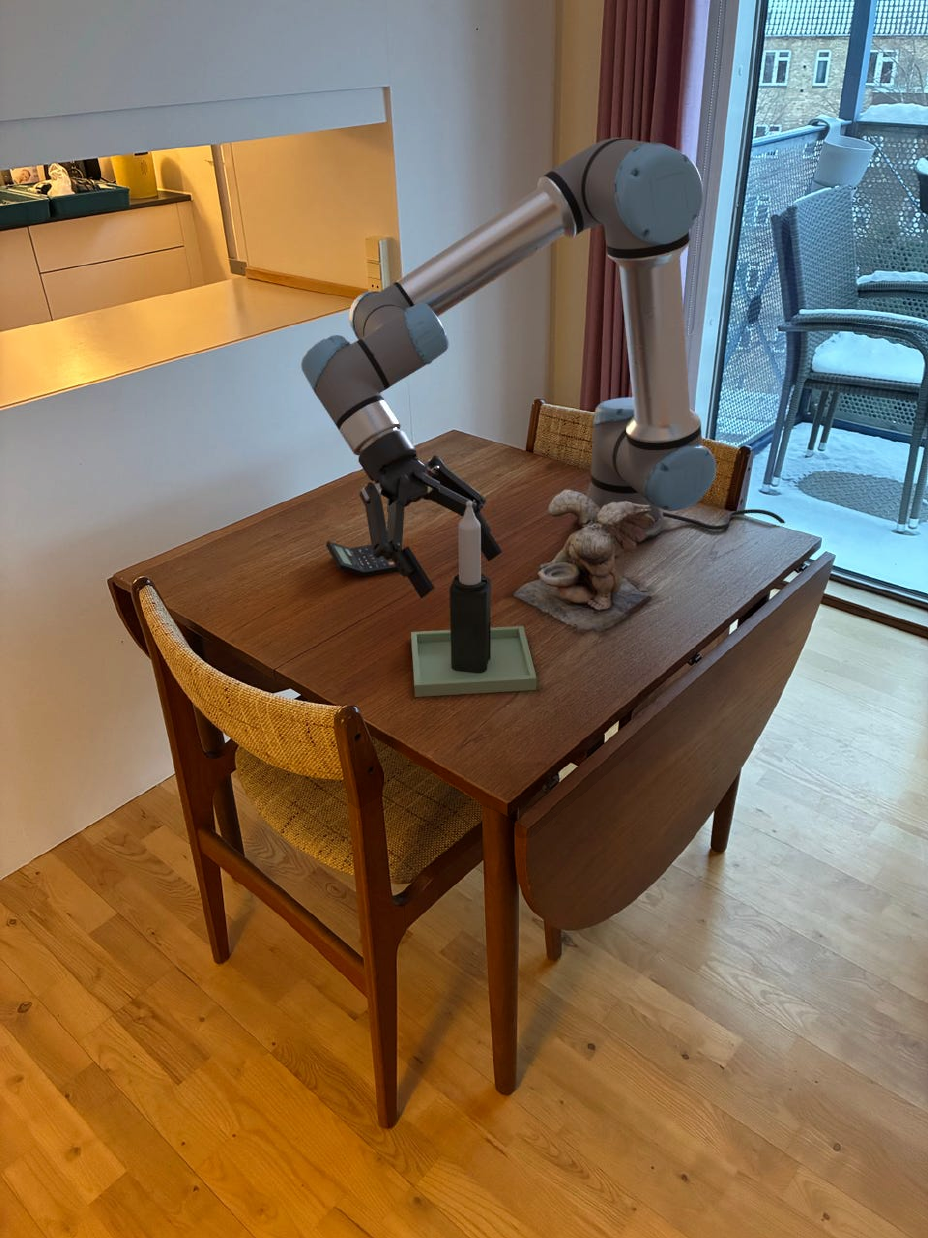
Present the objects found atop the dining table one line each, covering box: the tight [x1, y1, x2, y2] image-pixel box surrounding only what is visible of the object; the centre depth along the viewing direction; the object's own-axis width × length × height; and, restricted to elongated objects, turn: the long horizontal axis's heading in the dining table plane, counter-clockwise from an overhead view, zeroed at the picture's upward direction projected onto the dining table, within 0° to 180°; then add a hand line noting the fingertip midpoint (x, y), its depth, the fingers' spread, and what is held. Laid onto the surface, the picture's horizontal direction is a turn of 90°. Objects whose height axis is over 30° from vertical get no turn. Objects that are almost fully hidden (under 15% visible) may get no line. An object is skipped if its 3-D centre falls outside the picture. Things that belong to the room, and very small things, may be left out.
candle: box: [448, 501, 492, 673], centre depth 130 cm, size 5×5×25 cm
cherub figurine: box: [512, 489, 655, 634], centre depth 148 cm, size 18×18×18 cm
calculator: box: [325, 540, 399, 578], centre depth 163 cm, size 9×12×3 cm
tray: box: [410, 625, 538, 698], centre depth 136 cm, size 17×14×2 cm
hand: (462, 574), depth 130 cm, fingers open, 13 cm apart
